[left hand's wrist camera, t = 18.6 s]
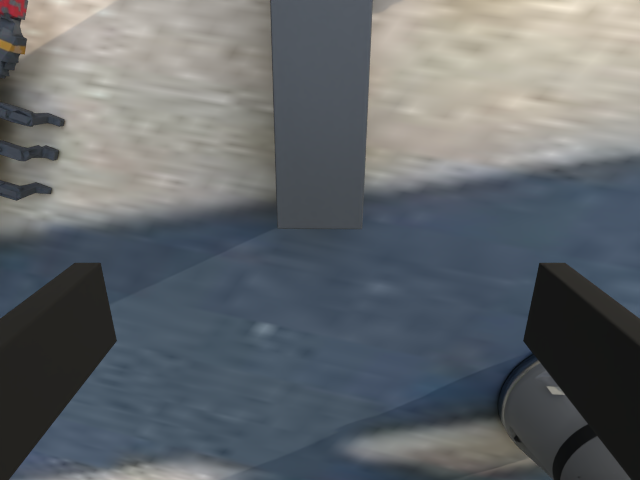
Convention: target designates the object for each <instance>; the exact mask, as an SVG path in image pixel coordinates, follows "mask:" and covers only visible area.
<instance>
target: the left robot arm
mask: <svg viewBox="0 0 640 480" xmlns="http://www.w3.org/2000/svg"><path fill="white" fill-rule="evenodd" d="M116 341H117V340H116V335H115V330H114V326H113V321H112V316H111V311H110V306H109V301H108V297H107V292H106V287H105V282H104V277H103V273H102V268H101V263H74V264H73V265H71V266H70V267H69V268H67V269H66V270H65V271H63V272H62V273H61V274H59V275H58V276H57V277H55V278H54V279H53V280H51V281H50V282H49V283H47V284H46V285H45V286H43V287H42V288H41V289H39V290H38V291H37V292H35V293H34V294H33V295H31V296H30V297H29V298H27V299H26V300H25V301H23V302H22V303H21V304H19V305H18V306H17V307H15V308H14V309H13V310H11V311H10V312H9V313H7V314H6V315H5V316H3V317H2V318H1V319H0V480H9V479H10V477H11V476H12V475H13V474H14V472H15V471H16V470H17V468H18V467H19V466H20V465H21V463H22V462H23V461H24V459H25V458H26V457H27V456H28V454H29V453H30V452H31V450H32V449H33V448H34V447H35V445H36V444H37V443H38V441H39V440H40V439H41V438H42V436H43V435H44V434H45V432H46V431H47V430H48V429H49V427H50V426H51V425H52V423H53V422H54V421H55V420H56V418H57V417H58V416H59V414H60V413H61V412H62V411H63V409H64V408H65V407H66V405H67V404H68V403H69V402H70V400H71V399H72V398H73V396H74V395H75V394H76V393H77V391H78V390H79V389H80V387H81V386H82V385H83V384H84V382H85V381H86V380H87V378H88V377H89V376H90V375H91V373H92V372H93V371H94V369H95V368H96V367H97V366H98V364H99V363H100V362H101V360H102V359H103V358H104V357H105V355H106V354H107V353H108V351H109V350H110V349H111V348H112V346H113V345H114V344H115V342H116ZM523 341H524V342H525V344H526V345H527V346H528V348H529V349H530V350H531V351H532V353H533V354H534V355H532V356H530V357H529V358H527V359H526V360H525V361H523V362H522V363H521V364H520V365H519V366H518V367H517V368H516V369H514V371H513V372H512V373H511V374H510V375H509V377H508V378H507V380H506V381H505V383H504V385H503V387H502V389H501V392H500V396H499V401H498V411H499V416H500V419H501V421H502V423H503V425H504V427H505V429H506V431H507V433H508V435H509V436H510V438H511V439H512V440H513V441H514V443H515V444H516V445H517V446H518V447H519V448H520V449H521V450H522V451H523V452H525V453H526V455H528V456H529V457H530V458H531V459H532V460H533V461H534V462H535V463H536V464H537V465H538V466H539V467H540V468H542V469H543V470H544V471H545V472H546V473H547V474H548V475H549V476H550V477H551V478H552V479H553V480H640V319H639V318H638V317H637V316H635V315H634V314H633V313H631V312H630V311H629V310H627V309H626V308H625V307H623V306H622V305H621V304H619V303H618V302H617V301H615V300H614V299H613V298H611V297H610V296H609V295H607V294H606V293H605V292H603V291H602V290H601V289H599V288H598V287H597V286H595V285H594V284H593V283H591V282H590V281H589V280H587V279H586V278H585V277H583V276H582V275H581V274H579V273H578V272H577V271H575V270H574V269H573V268H571V267H570V266H569V265H567V264H566V263H539V268H538V273H537V277H536V282H535V287H534V292H533V297H532V301H531V306H530V311H529V316H528V321H527V326H526V330H525V335H524V340H523Z"/></svg>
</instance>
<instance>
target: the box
mask: <svg viewBox="0 0 640 480" xmlns="http://www.w3.org/2000/svg"><path fill="white" fill-rule="evenodd" d="M372 4H373V0H270V6H271V38H272V70H273V102H274V134H275V165H276V197H277V228H278V229H362V220H363V198H364V177H365V155H366V134H367V112H368V91H369V69H370V47H371V26H372Z"/></svg>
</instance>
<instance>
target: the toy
mask: <svg viewBox="0 0 640 480" xmlns="http://www.w3.org/2000/svg"><path fill="white" fill-rule="evenodd" d="M27 4H28V0H0V78H5V77H6V76H9V70H14V69H15V65H16V63H18V60H19V55H20V54H25V49H26V42H27V39H26V38H24V37H23V35H22V33H21V29H20V22H21V19H23V20H25V15H26V10H27ZM0 118H2V119H5V120H8V121H11V122H14V123H18V124H22V125H26V126H32V127H33V125H38V124H44V123H50V124H54V125H57V126H59V127H60V126H63V125H64V119H62V118H59V117H57V116H54V115H52V114H49V113H33V112H32V111H29V110H26V109H23V108H20V107H17V106H13V105H10V104H6V103H2V102H0ZM58 152H59V150H56V149H54V148H51V147H48V146H44V147H40V146H39V145H37V146H33V147H30V148H25V147H21V146H18V145H15V144H12V143H9V142H6V141H2V140H0V155H4V156H7V157H10V158H13V159H16V160H19V161H27V160H29V159H31V158H48V159H51V160H53V161H54V160H57V158H58ZM51 190H52V188H50V187H47V186H44V185H42V184H39V183H32V184H28V185H22V186H18V185H15V184H12V183H8V182H4V181H1V180H0V196H3V197H6V198H10V199H13V200H19V199H21V198H24V197H26V196H29V195H31V194H34V193H44V194H51Z"/></svg>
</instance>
